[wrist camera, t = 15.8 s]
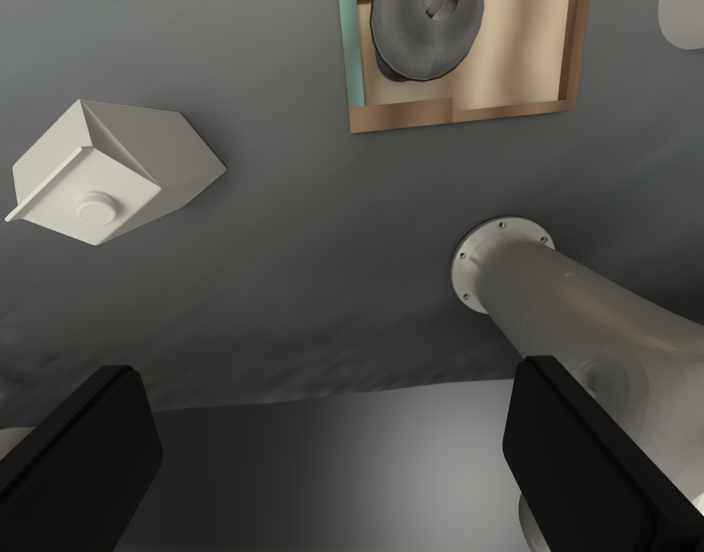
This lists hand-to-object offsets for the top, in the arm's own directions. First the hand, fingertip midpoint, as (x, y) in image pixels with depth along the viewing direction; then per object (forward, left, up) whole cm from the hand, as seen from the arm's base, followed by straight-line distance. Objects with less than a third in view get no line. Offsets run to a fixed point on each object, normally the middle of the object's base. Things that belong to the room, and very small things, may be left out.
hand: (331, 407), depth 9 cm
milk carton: (+18, +2, -34) cm, 38 cm away
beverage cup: (-1, -15, -32) cm, 35 cm away
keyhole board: (-6, -17, -33) cm, 38 cm away
